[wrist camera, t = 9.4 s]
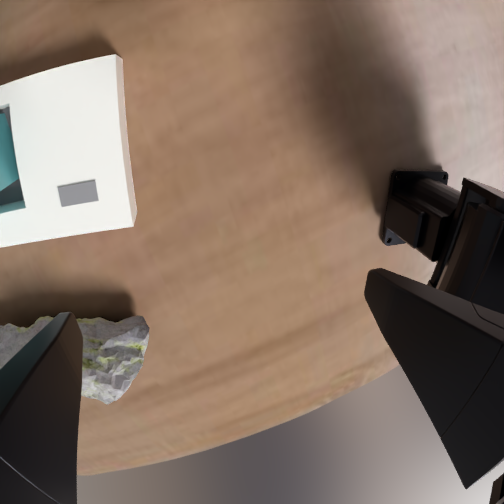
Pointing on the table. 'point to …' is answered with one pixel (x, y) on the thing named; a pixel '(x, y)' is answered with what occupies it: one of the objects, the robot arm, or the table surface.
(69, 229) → the socket plate
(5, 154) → the plug
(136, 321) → the rock
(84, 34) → the table surface
